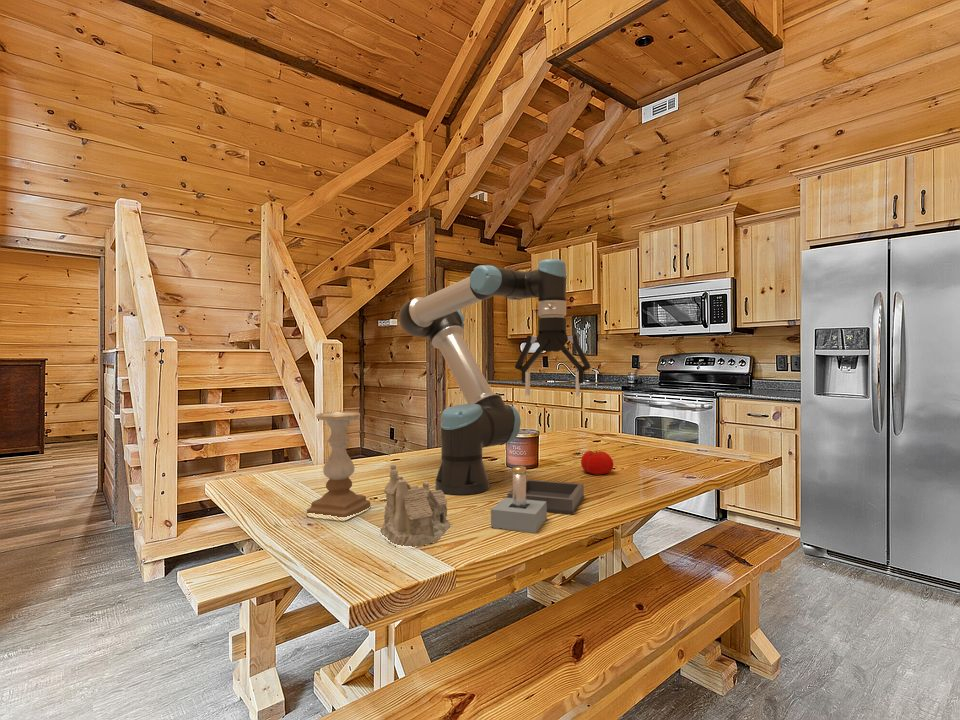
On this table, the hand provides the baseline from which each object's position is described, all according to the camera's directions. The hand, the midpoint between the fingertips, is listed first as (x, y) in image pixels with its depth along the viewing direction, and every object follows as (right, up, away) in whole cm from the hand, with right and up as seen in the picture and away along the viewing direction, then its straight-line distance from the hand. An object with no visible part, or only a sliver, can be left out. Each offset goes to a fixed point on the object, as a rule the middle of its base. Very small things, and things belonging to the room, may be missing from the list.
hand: (552, 395), depth 138 cm
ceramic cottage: (-33, -27, -30) cm, 52 cm away
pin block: (-11, -27, -25) cm, 38 cm away
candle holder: (-54, -27, -16) cm, 62 cm away
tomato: (+18, -27, +25) cm, 41 cm away
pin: (-11, -27, -25) cm, 38 cm away
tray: (-3, -27, -8) cm, 28 cm away
